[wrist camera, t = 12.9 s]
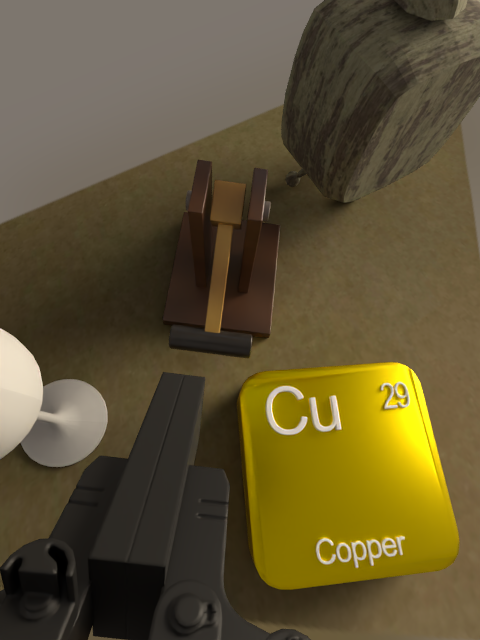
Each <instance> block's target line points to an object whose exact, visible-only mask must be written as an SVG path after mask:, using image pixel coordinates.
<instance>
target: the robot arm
mask: <svg viewBox="0 0 480 640" xmlns="http://www.w3.org/2000/svg"><path fill="white" fill-rule="evenodd" d="M204 386H205V377H198V376H190V375H182V374H174V373H166V372H163V374H162V376H161V379H160V381H159V384H158V386H157V388H156V391H155V393H154V396H153V398H152V401H151V403H150V406H149V408H148V411H147V413H146V416H145V418H144V421H143V423H142V425H141V428H140V430H139V433H138V435H137V438H136V440H135V443H134V445H133V448H132V450H131V453H130V455H129V458H128V459H124V458H116V457H108V456H99V457H98V458H97V459H96V460H95V461H94V462H92V463H91V464H90V465H89V466H88V467H87V468H86V469H85V470H84V472H83V474H82V476H81V478H80V480H79V482H78V484H77V486H76V489H74V491H73V493H72V495H71V497H70V499H69V502H68V504H67V505H66V506H65V508H64V510H63V512H62V514H61V516H60V518H59V520H58V522H57V524H56V525H55V527H54V529H53V531H52V533H51V535H50V537H49V538H48V539H38V540H36V541H33V542H31V543H28V544H26V545H24V546H22V547H21V548H20V549H18V550H17V551H16V552H14V553H13V554H11V555H10V556H9V558H8V559H7V560H6V561H5V563H4V564H3V565H2V566H1V567H0V572H1V576H2V580H3V585H4V590H2V591H0V640H88V637H89V634H90V631H91V628H92V625H93V636H98V637H107V638H116V639H126V640H310V639H309V638H308V636H306V635H304V634H302V633H300V632H298V631H296V630H292V629H280V630H278V631H276V632H274V633H271V634H269V633H268V632H266V631H264V630H262V629H260V628H258V627H257V626H255V625H253V624H251V623H249V622H247V621H246V620H245V619H243V618H242V617H240V616H239V615H238V614H237V613H236V611H235V610H234V609H233V608H232V607H231V605H230V603H229V601H228V599H227V597H226V593H225V590H224V579H223V576H224V561H225V547H226V533H227V518H228V503H229V490H230V484H229V482H228V479H227V476H226V474H225V471H224V469H218V468H210V467H201V466H194V462H195V457H196V451H197V446H198V441H199V434H200V425H201V415H202V405H203V395H204Z"/></svg>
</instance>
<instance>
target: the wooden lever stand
mask: <svg viewBox="0 0 480 640" xmlns="http://www.w3.org/2000/svg"><path fill="white" fill-rule="evenodd" d="M267 175H268V170H267V169H260V168H254V172H253V180H252V187H251V194H250V202H249V209H248V216H247V220H242V223H241V230H236V229H233V234H232V242H231V250H230V258H229V265H228V273H227V281H226V289H225V297H224V304H223V312H222V320H221V328H220V330H221V331H229V332H236V333H244V334H251V335H252V336H258V337H265V338H269V336H270V332H271V321H272V310H273V299H274V288H275V277H276V266H277V255H278V243H279V232H280V225H276V224H269V223H262V221H268V218H269V212H270V204H271V203H270V202H269V201H265V193H266V184H267ZM211 207H212V162H211V161H204V160H198V161H197V167H196V172H195V177H194V182H193V187H192V191H188V192H187V196H186V210H187V211H188V212H184V215H183V220H182V225H181V230H180V235H179V240H178V245H177V250H176V255H175V260H174V265H173V270H172V275H171V280H170V285H169V290H168V295H167V300H166V305H165V310H164V315H163V323H164V324H165V325H174V324H175V325H182V326H190V327H198V328H205V324H206V316H207V308H208V300H209V292H210V284H211V276H212V268H213V260H214V252H215V244H216V236H217V228H218V227H214V226H212V224H211V221H210V215H211Z"/></svg>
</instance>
